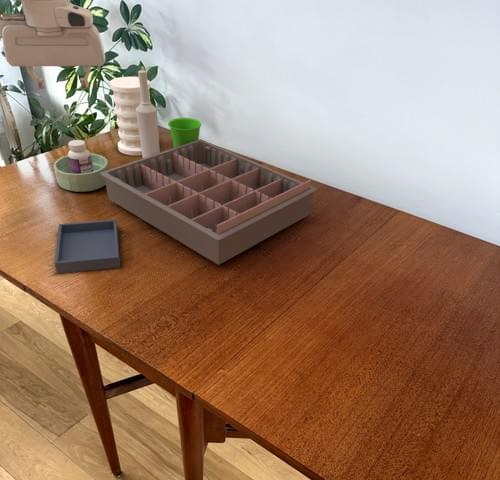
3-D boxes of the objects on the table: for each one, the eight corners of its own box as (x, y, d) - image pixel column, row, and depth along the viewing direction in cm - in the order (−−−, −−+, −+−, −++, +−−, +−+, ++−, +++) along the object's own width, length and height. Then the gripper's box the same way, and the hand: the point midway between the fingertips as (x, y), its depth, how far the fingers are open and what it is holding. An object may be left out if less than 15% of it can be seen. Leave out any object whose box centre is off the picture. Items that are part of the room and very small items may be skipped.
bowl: (56, 195, 116) (51, 176, 112) (59, 172, 125) (55, 154, 122) (111, 191, 118) (108, 172, 115) (110, 169, 128) (107, 151, 124)
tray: (57, 273, 92) (54, 263, 91) (61, 233, 103) (58, 223, 101) (120, 267, 95) (118, 257, 93) (117, 229, 105) (116, 219, 104)
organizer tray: (201, 167, 131) (200, 131, 124) (313, 219, 112) (319, 180, 105) (105, 204, 114) (97, 164, 107) (218, 273, 94) (218, 230, 88)
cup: (207, 159, 135) (206, 120, 128) (195, 171, 129) (193, 131, 121) (178, 154, 137) (175, 115, 129) (165, 166, 131) (162, 126, 123)
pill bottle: (87, 186, 119) (79, 148, 112) (69, 182, 120) (60, 144, 113) (99, 177, 123) (92, 140, 116) (81, 173, 124) (74, 137, 117)
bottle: (157, 178, 125) (146, 75, 108) (140, 174, 126) (127, 72, 109) (165, 170, 129) (157, 70, 112) (149, 167, 130) (137, 67, 113)
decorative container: (110, 147, 139) (99, 81, 126) (140, 137, 145) (132, 73, 133) (135, 158, 133) (126, 91, 121) (165, 148, 140) (159, 82, 128)
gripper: (-11, 16, 91) (11, 92, 100) (97, 17, 94) (109, 91, 103) (-4, 10, 95) (16, 84, 105) (98, 11, 98) (109, 83, 108)
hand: (63, 87), depth 104 cm, fingers open, 8 cm apart
